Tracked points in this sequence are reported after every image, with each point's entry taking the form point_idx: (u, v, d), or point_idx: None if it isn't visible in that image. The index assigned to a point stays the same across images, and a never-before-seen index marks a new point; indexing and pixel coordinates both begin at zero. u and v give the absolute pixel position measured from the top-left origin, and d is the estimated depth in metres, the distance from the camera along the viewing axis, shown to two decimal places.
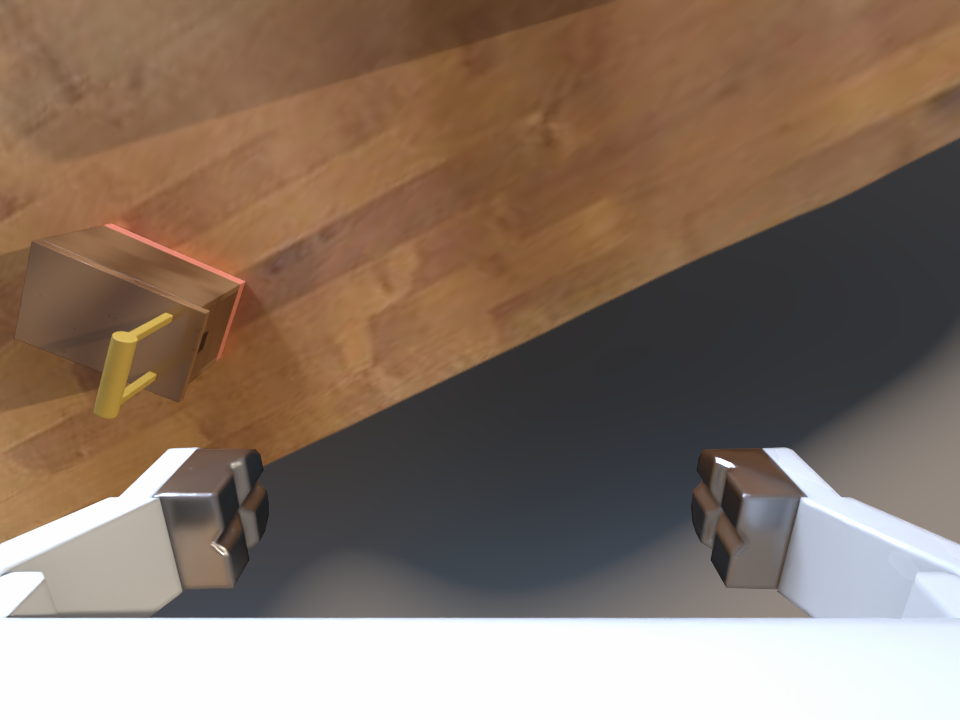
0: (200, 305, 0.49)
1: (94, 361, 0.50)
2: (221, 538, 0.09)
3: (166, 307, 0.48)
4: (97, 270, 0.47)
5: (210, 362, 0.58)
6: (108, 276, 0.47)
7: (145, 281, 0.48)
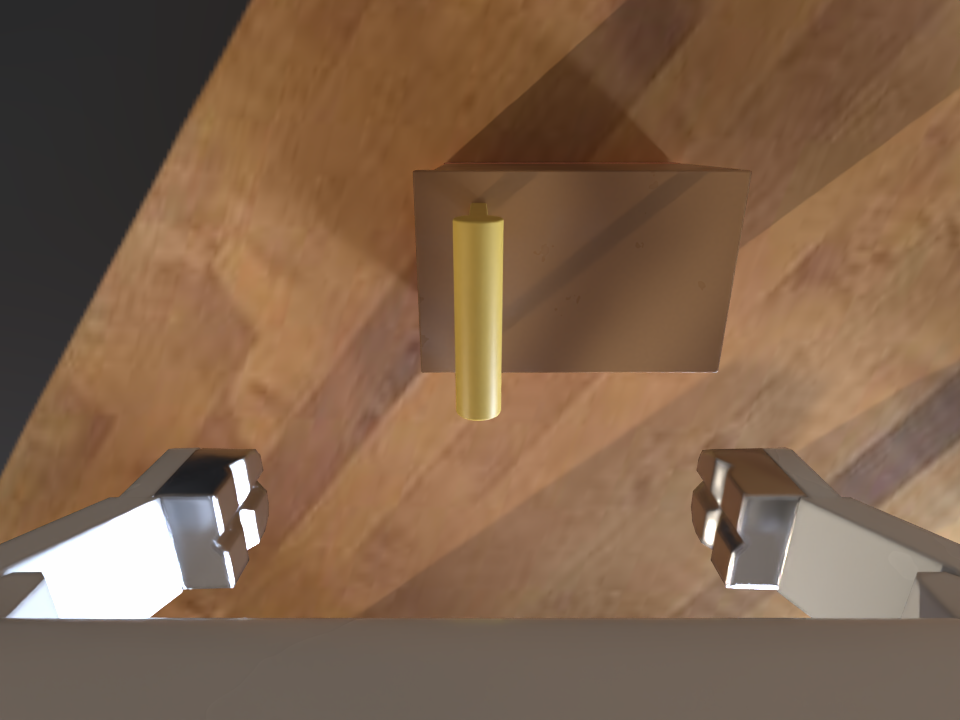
0: None
1: (593, 191, 0.24)
2: (221, 538, 0.09)
3: None
4: (609, 369, 0.27)
5: None
6: (589, 367, 0.27)
7: None
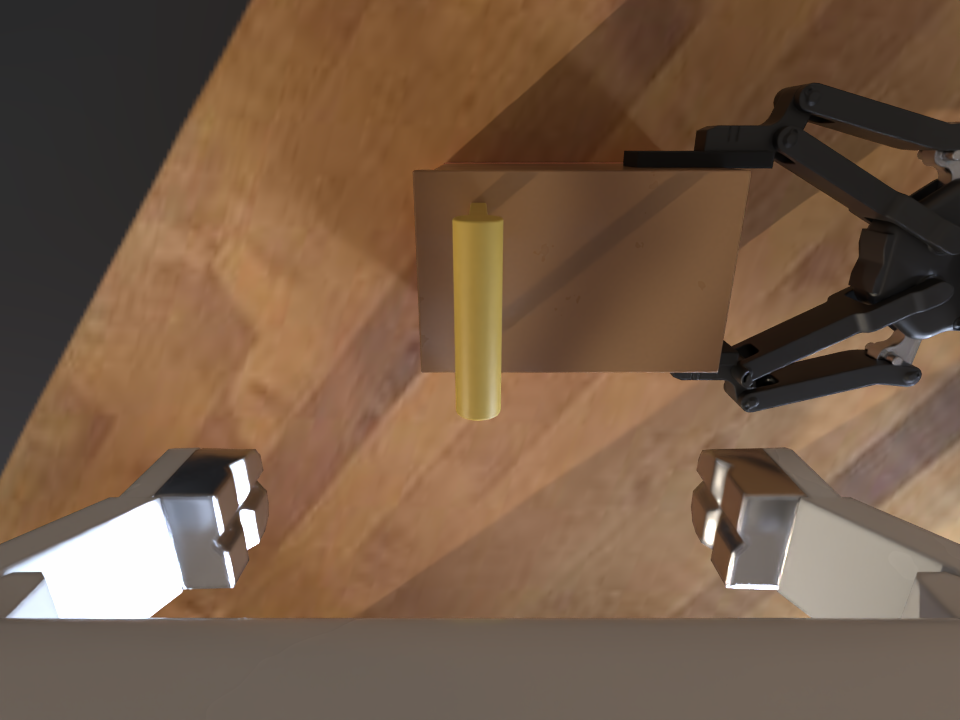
0: None
1: (592, 190, 0.24)
2: (221, 538, 0.09)
3: None
4: (609, 369, 0.27)
5: None
6: (589, 367, 0.27)
7: None
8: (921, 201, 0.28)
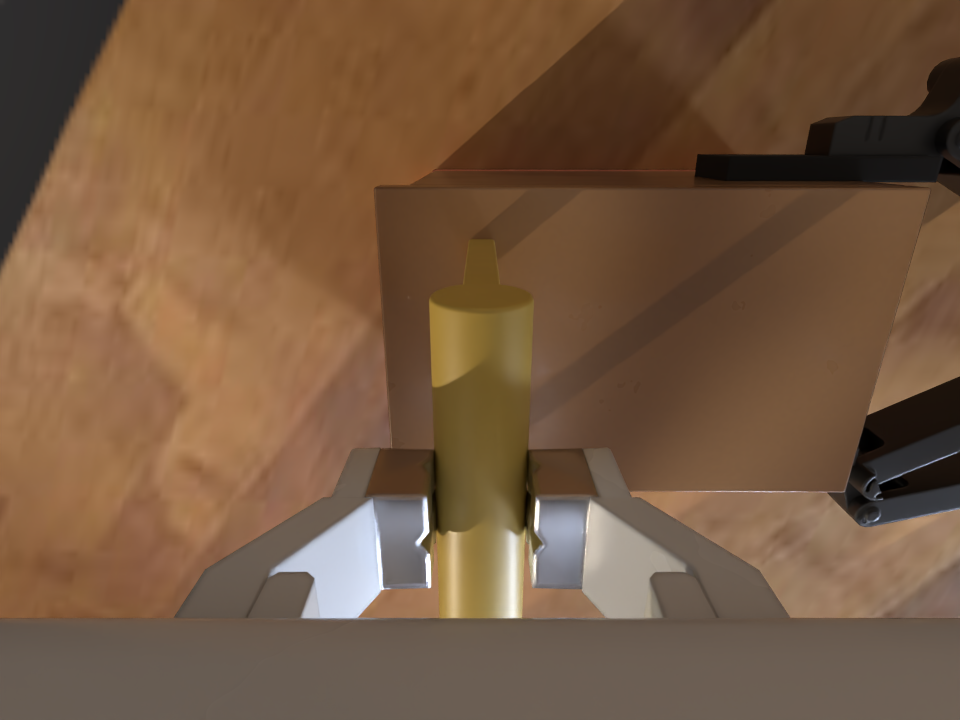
0: None
1: (668, 220, 0.15)
2: None
3: None
4: (679, 487, 0.18)
5: None
6: (650, 484, 0.18)
7: None
8: None
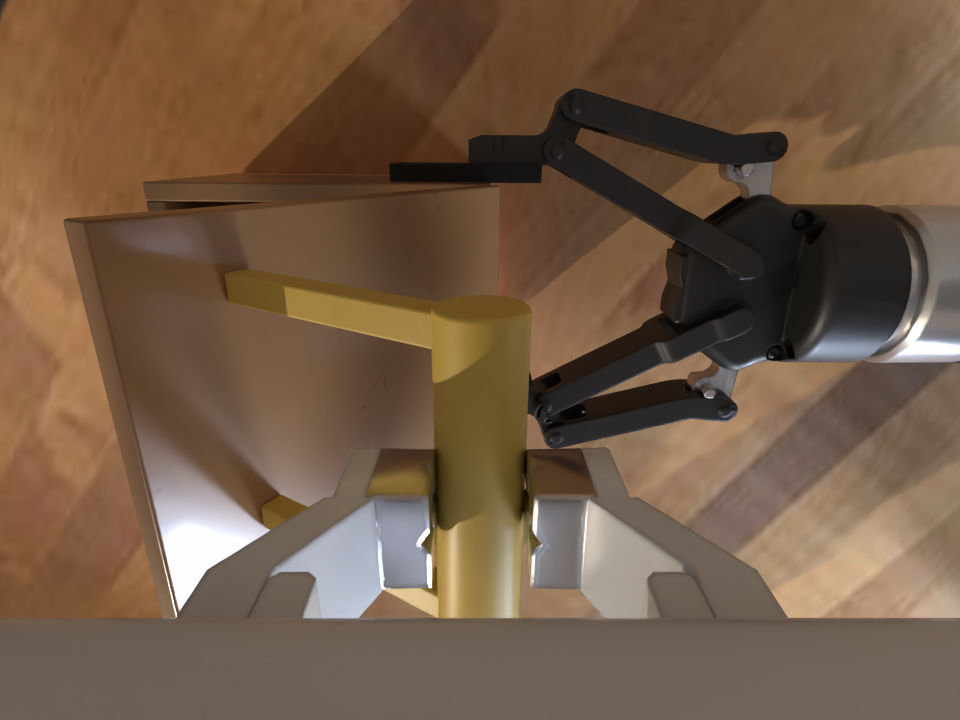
0: None
1: (384, 225, 0.16)
2: None
3: None
4: None
5: None
6: None
7: None
8: (717, 220, 0.25)
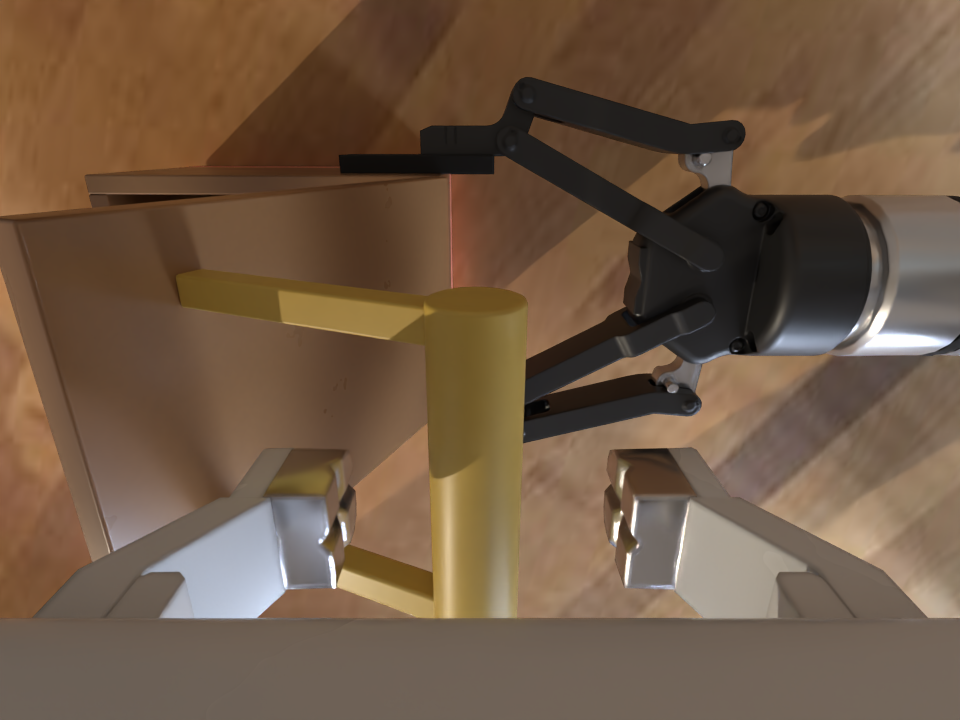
0: None
1: (337, 219, 0.16)
2: (325, 538, 0.09)
3: None
4: (383, 456, 0.20)
5: None
6: (368, 467, 0.19)
7: None
8: (676, 211, 0.25)
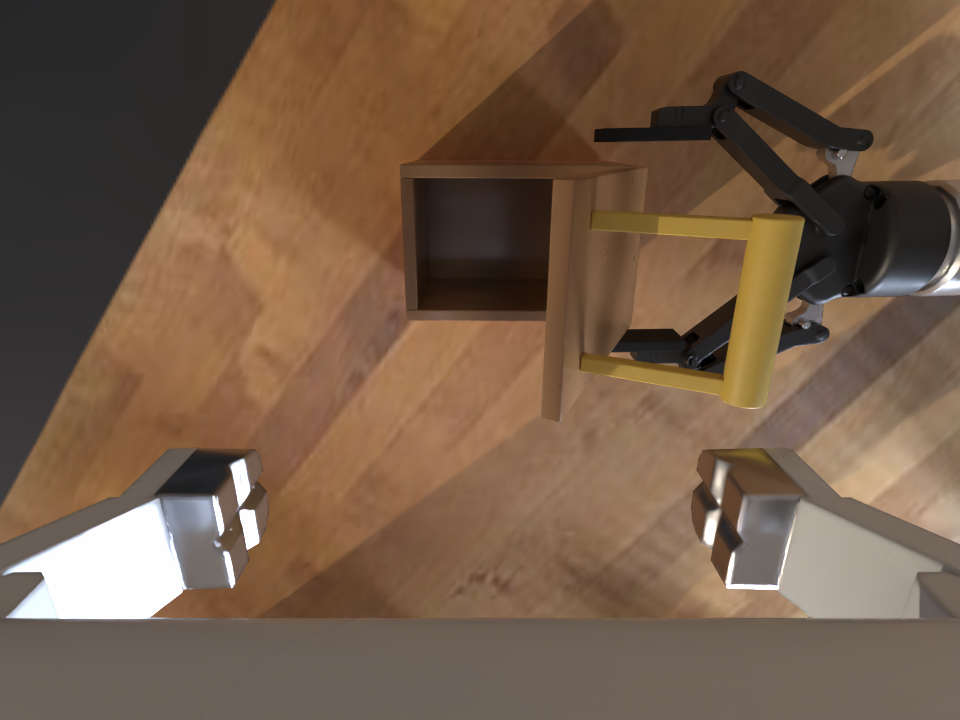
0: (410, 319, 0.36)
1: (621, 189, 0.26)
2: (221, 538, 0.09)
3: (583, 375, 0.25)
4: (612, 348, 0.30)
5: None
6: (608, 352, 0.29)
7: None
8: None
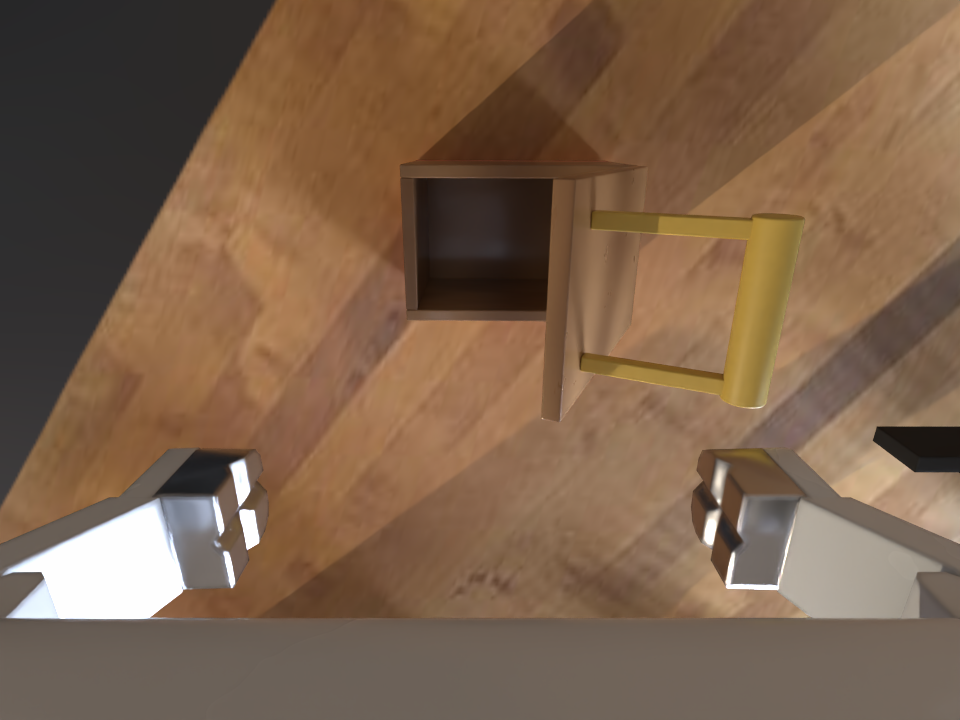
0: (410, 319, 0.36)
1: (621, 189, 0.26)
2: (221, 538, 0.09)
3: (583, 374, 0.25)
4: (612, 348, 0.30)
5: None
6: (608, 352, 0.29)
7: None
8: None
